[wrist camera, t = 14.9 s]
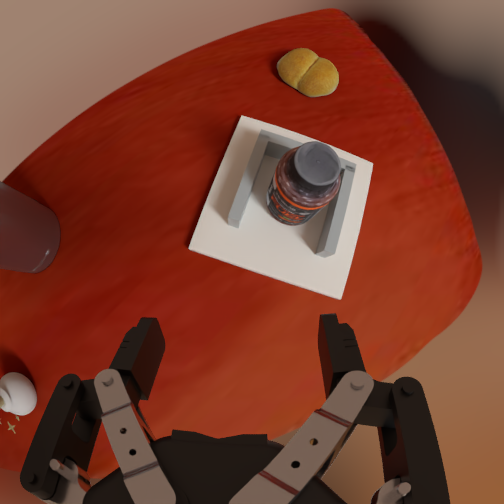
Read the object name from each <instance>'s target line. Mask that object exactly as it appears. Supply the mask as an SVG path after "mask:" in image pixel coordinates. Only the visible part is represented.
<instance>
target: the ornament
mask: <svg viewBox="0 0 504 504" xmlns="http://www.w3.org/2000/svg"><path fill="white" fill-rule="evenodd" d="M36 401H37V395H36V391H35V388H34V386H33V384H32V383H31V381H30V380H29V379H28V378H27V377H25V376H24V375H22V374H20V373H16V372H11V373H8V374H6V375H4V376H3V377H2V378H1V380H0V408H2V409H3V410H4V411H6V412H9V411H10V412H12V413H14V414H17V415H26V414H29V413H30V412H31V411H32V410H33V409H34V407H35V405H36ZM16 417H17V416H16ZM18 418H19V417H17V418H16V419H18ZM18 420H19V419H18ZM0 424H1V423H0ZM8 424H9V423H8ZM9 426H10V428H9V429H8V430H10V429H12V430H13V431H14V429H13V428H14V426H11V425H10V424H9ZM14 433H15V431H14ZM15 434H16V433H15Z"/></svg>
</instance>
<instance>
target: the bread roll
mask: <svg viewBox="0 0 504 504" xmlns="http://www.w3.org/2000/svg"><path fill="white" fill-rule="evenodd" d="M277 70H278V73H279V75H280V77H281V78H282V80H283V81H284V82H285V83H287V84H288V85H290V86H291V87H293V88H295V89H297V90H298V91H299V92H301V93H302V94H304V95H306V96H309V97H318V96H324V95H328V94H331V93H332V92H333V91H334V90H335V89H336V87H337V85H338V82H339V75H338V72H337V70H336V68H335V66H334V65H333V64H332V63H331V62H330V61H329V60H327V59H324V58H320V57H318V56H317V55H316V54H315V53H314V52H313V51H311V50H309V49H305V48H298V49H295V50H292V51H290V52H288V53H287V54H286V55H284V56H283V57H282V58H281V59H280V60H279V61H278V63H277Z"/></svg>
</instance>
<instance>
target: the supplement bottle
mask: <svg viewBox="0 0 504 504" xmlns="http://www.w3.org/2000/svg"><path fill="white" fill-rule="evenodd" d="M340 171H341V163H340V159H339V157H338V155H337V154H336V152H335V151H334V150H333V149H332V148H331V147H330V146H328V145H327V144H324V143H322V142H318V141H311V142H307V143H304V144H302V145H301V146H298V147H295V148H292V149H291V150H289V151H287V152H286V153H285V154H284V155H283V156H282V157H281V159H280V161H279V162H278V165H277V167H276V170H275V172H274V175H273V177H272V180H271V183H270V185H269V188H268V190H267V195H266V204H267V207H268V210H269V212H270V213H271V215H272V216H273V217H274V218H275V219H276V220H277V221H279V222H280V223H282V224H285V225H289V226H297V225H301V224H304V223H305V222H307V221H309V220H310V219H311V218H312V217H313V216H315V215H316V214H317V213H318V212H319V211H320V210H321V209H322V208H324V207H325V206H326V205H327V204H328V203H329V202H330V201H331V200H332V199H333V198H334V197H335V195H336V194H337V192H338V190H339V186H340Z"/></svg>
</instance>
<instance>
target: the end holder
mask: <svg viewBox="0 0 504 504" xmlns="http://www.w3.org/2000/svg"><path fill="white" fill-rule="evenodd" d="M311 141H317V140H315V139H312V138H309V137H307V136H304V135H301V134H298V133H295V132H292V131H290V130H287V129H284V128H281V127H278V126H274V125H271V124H268V123H265V122H262V121H259V120H255V119H252V118H249V117H245V116H241V118H240V121H239V123H238V125H237V127H236V130H235V132H234V134H233V137H232V139H231V141H230V144H229V146H228V148H227V151H226V153H225V155H224V158H223V160H222V163H221V165H220V167H219V170H218V172H217V175H216V177H215V180H214V182H213V185H212V187H211V190H210V192H209V195H208V197H207V200H206V203H205V205H204V208H203V210H202V213H201V216H200V218H199V221H198V224H197V226H196V229H195V232H194V234H193V237H192V240H191V243H190V245H189V248H188V249H189V250H191V251H194V252H197V253H200V254H203V255H206V256H209V257H212V258H215V259H218V260H220V261H223V262H226V263H229V264H232V265H235V266H238V267H241V268H244V269H247V270H250V271H253V272H256V273H259V274H262V275H265V276H268V277H271V278H274V279H277V280H280V281H283V282H286V283H289V284H292V285H295V286H298V287H301V288H304V289H307V290H310V291H313V292H317V293H320V294H323V295H326V296H329V297H332V298H335V299H340V300H341V298H342V294H343V291H344V287H345V284H346V280H347V277H348V273H349V269H350V266H351V262H352V258H353V254H354V250H355V246H356V242H357V238H358V234H359V230H360V226H361V221H362V217H363V213H364V208H365V203H366V199H367V194H368V189H369V184H370V178H371V173H372V168H373V163H371V162H369V161H366V160H364V159H362V158H359V157H357V156H355V155H352V154H350V153H348V152H345V151H343V150H340V149H338V148H335V147H333V146H330V145H328V144H327V145H328V146H330V147H331V148H332V149H333V150H334V151H335V152H336V154H337V155H338V157H339V159H340V163H341V171H340V186H339V190H338V192H337V194H336V195H335V197H334V198H333V199H332V200H331V201H330V202H329V203H328V204H327V205H326V206H325V207H324V208H322V209H321V210H320V211H319V212H318V213H317V214H316V215H315V216H313V217H312V218H311V219H310V220H309V221H307V222H305V223H304V224H301V225H297V226H289V225H285V224H282V223H280V222H279V221H277V220H276V219H275V218H274V217H273V216H272V215H271V213H270V212H269V210H268V207H267V204H266V195H267V190H268V188H269V185H270V183H271V180H272V177H273V175H274V172H275V170H276V167H277V165H278V162H279V161H280V159H281V157H282V156H283V155H284V154H285V153H286V152H287V151H289V150H291V149H292V148H295V147H298V146H301V145H302V144H304V143H307V142H311ZM318 142H320V141H318ZM322 143H323V142H322ZM324 144H325V143H324Z"/></svg>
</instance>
